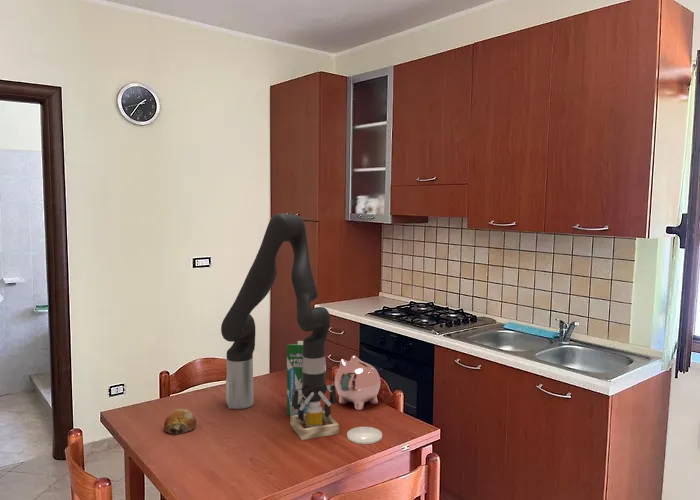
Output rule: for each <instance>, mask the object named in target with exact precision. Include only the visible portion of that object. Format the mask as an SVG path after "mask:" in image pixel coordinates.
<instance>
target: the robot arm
mask: <svg viewBox="0 0 700 500" xmlns="http://www.w3.org/2000/svg"><path fill="white" fill-rule="evenodd" d="M284 242H289V243H290V245H291V248H292V253H293V263H292V268H291V276H290V277H291V283H292V288H293V290H294V294H295V298H296V322H297V325H298V327H299V328H300V330H302V331H303V332H306V333H307V332H311V334H310V335H308V336H307V337H305V338H304V339H303V340H302V341H303V361H302V389H295V388H294V389H293V392H292V406H293V408H294V409H298V418H299V419H300V420H301V421H304V410H303V408H304V407H305V405H307V404H308V402H309V401H310V402H312V401H319V400H320V401H321V400H322V401H323V402H324V411H325V416H326V417H329V415H330V416H331V405H333V404H336V403H337V390H336V387H335V384H333V383H330V384H328V385H326V383H327V382H326V381H327V364H326V341H327V337H328V333H329V330H330V324H331V316H330V312H329V310H328V309H327V308H326V307H324V306H317V307H312V308H311V302H312V301H315V300H316V299H318V297H319V292H318V290H317V286H316V282H315V279H314V275H313V271H312V267H311V261H310V254H309V253H310V252H309V246H308V239H307V231H306V225H305V222H304V220H303V218H302V217H301V216H300V215H298V214H293V213H292V214H291V213H281V212H280V213H279V212H278V213H276V214H275V215H273V216H272V217H271V218H270V220H269V222H268V224H267V227H266V230H265V232H264V235H263V238H262V241H261V245H260V247H259V249H258V252H257V254H256V256H255V258H254V260H253V262H252V265H251V267H250V268H249V271H248V273H247V275H246V277H245V279H244V281H243V284H242V286H241V288H240V290H239V292H238V294H237V296H236V298H235V299H234V302H233V304H232V305H231V307H230V308H229V310H228V312H227V313H226V315H225V317H223V320H222V323H221V328H220V332H221V333H220V334H221V335H222V338H223V339H224V340H225V341H226V342H229V343H231V342H232V345H231V346H230V347H229V348H228V349H227V351H226V378H225V399H226V400H225V401H226V406H227V407H228V409H229V410H231V409H232V410H233V409H235V410H243V409H247V408H250V407H252V406H253V405H254V364H253V362H254V360H253V358H254V356H253V355H254V354H253V353H254V352H255V348H256V322H255V319H254V317H253V316H252V314H251V313H252V311H253V310H254V309H255V308H256V307H257V306H258V305H260V303H261V302H262V301H263V300H264V299H265V298H266V296H267V295H268V294H269V293H270V290H271V289H272V286H273V285H274V283H275V281H276V278H277V261H276V260H277V254H278V252H279V250H280V248H281V246H282V245H283V243H284ZM327 391H328V392H329V398H327V396H326V395H325V394H326V392H327ZM301 393H302V394H303V397H302V398H301V401H300V402H299V404H298V397H299V396H300V394H301Z"/></svg>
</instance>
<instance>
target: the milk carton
mask: <svg viewBox="0 0 700 500" xmlns="http://www.w3.org/2000/svg"><path fill="white" fill-rule="evenodd" d="M303 341H304V340H298V341H297V343H289V344H286V405H287V406H286V416H294V415H298V409H294V408H293V406H292V392H293V389H294V388H295V389H302V361H303ZM302 397H303V394H302V393H301V394H300V396H299V397H298V404H299V402H300V401H301V398H302ZM307 406H308V404H307V405H305V407H304V408H303V410H304V414H306V408H307Z"/></svg>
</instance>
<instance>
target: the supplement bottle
mask: <svg viewBox="0 0 700 500" xmlns="http://www.w3.org/2000/svg"><path fill="white" fill-rule="evenodd" d="M322 411H323V407H322V405H321V399H320V400H319V401H312V402H310V401H309V402H308V406H307V408H306V424H305V428H311V427H317V426H323V421H322Z"/></svg>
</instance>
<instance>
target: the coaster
mask: <svg viewBox="0 0 700 500" xmlns="http://www.w3.org/2000/svg"><path fill="white" fill-rule="evenodd" d="M346 433H347V434H346V438H347V439H348V440H349V441H350V442H353V443H355V444H359V445H371V444H376V443H378V442H380V441H381V440H382V439H383V433H382V431H381V430H380V429H378V428H376V427H371V426H357V427H353V428H351V429H350V430H348V431H347V432H346Z"/></svg>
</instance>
